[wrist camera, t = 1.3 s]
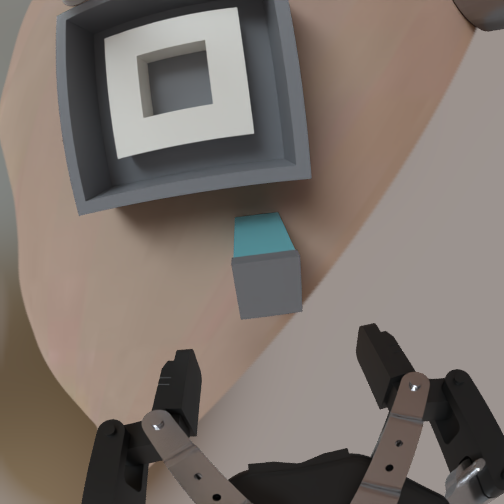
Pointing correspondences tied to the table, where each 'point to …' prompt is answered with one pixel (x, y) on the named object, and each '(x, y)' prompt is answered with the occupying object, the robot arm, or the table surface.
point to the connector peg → (265, 267)
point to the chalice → (72, 2)
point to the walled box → (178, 98)
